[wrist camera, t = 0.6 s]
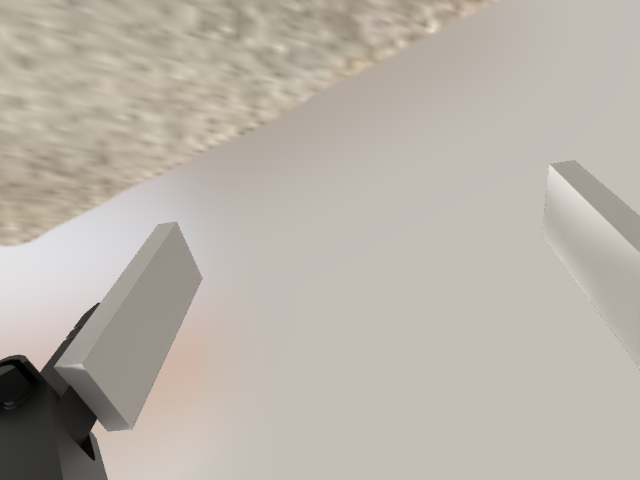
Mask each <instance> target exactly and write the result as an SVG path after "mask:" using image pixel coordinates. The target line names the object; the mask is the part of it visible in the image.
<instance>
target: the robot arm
mask: <svg viewBox="0 0 640 480" xmlns="http://www.w3.org/2000/svg"><path fill="white" fill-rule="evenodd" d="M542 235H543V237H544V238H545V240H546V241H547V242H548V244H549V245H550V246H551V248H552V249H553V251H554V252H555V253H556V255H557V256H558V257H559V259H560V260H561V261H562V263H563V264H564V266H565V267H566V269H567V270H568V271H569V273H570V274H571V276H572V277H573V278H574V280H575V281H576V282H577V284H578V285H579V286H580V288H581V289H582V291H583V292H584V293H585V295H586V296H587V297H588V299H589V300H590V302H591V303H592V304H593V306H594V307H595V308H596V310H597V311H598V313H599V314H600V316H601V317H602V318H603V320H604V321H605V323H606V324H607V325H608V326H609V328H610V329H611V331H612V332H613V333H614V335H615V336H616V338H617V339H618V340H619V342H620V343H621V345H622V346H623V347H624V349H625V350H626V352H627V353H628V354H629V356H630V357H631V358H632V360H633V361H634V363H635V364H636V365H637V367H638V368H639V369H640V216H639V215H638V214H637V213H636V212H635V211H633V210H632V209H631V208H630V207H628V205H626V204H625V203H624V202H623V201H622V200H620V199H619V198H618V197H617V196H616V195H615V194H613V193H612V192H611V191H610V190H609V189H608V188H606V187H605V186H604V185H603V184H602V183H601V182H599V181H598V180H597V179H596V178H595V177H594V176H592V175H591V174H590V173H589V172H587V170H585V169H584V168H583V167H582V166H581V165H580V164H578V163H577V162H576V161H575V160H573V161H566V162H560V163H554V164H549V172H548V180H547V190H546V200H545V208H544V217H543V227H542ZM201 281H202V276H201V274H200V272H199V269H198V267H197V265H196V263H195V261H194V258H193V256H192V254H191V252H190V250H189V247H188V245H187V243H186V241H185V239H184V237H183V234H182V232H181V230H180V228H179V226H178V223H177V222H171V223H165V224H159V225H158V226H157V227H156V228H155V229H154V231H153V232H152V233H151V235H150V236H149V238H148V239H147V240H146V242H145V243H144V244H143V246H142V247H141V248H140V250H139V251H138V252H137V254H136V255H135V257H134V258H133V259H132V261H131V262H130V264H129V265H128V266H127V268H126V269H125V270H124V272H123V273H122V274H121V276H120V277H119V278H118V280H117V281H116V283H115V284H114V285H113V287H112V288H111V289H110V291H109V292H108V293H107V295H106V296H105V298H104V299H103V300H102V302H101V303H97V304H96V305H95V306H93V307H92V308H91V309H90V310H89V311H87V312H86V313H85V314H84V315H83V316H82V318H81V319H80V320H79V322H78V323H77V324H76V326H75V327H74V330H72V331H71V332H70V333H69V335H68V336H67V337H66V340H65V341H63V343H62V344H61V345H60V347H59V348H58V349H57V351H56V352H55V353H54V355H53V356H52V357H51V359H50V360H49V361H48V363H47V364H46V365H45V366H44V368H43V369H42V371H41V372H39V371H38V370H37V369H36V368H35V367H34V366H33V364H32V363H31V362H30V361H29V360H28V359H27V358H26V357H25V356H23V355H14V356H9V357H7V358H4V359H2V360H0V480H108V479H107V475H106V472H105V468H104V464H103V461H102V457H101V454H100V450H99V446H98V443H97V439H96V438H95V436H94V434H93V433H92V432H91V429H92V427H93V425H94V424H95V422H96V420H97V419H98V421H99V422H100V423H101V424H102V425H103V426H104V428H105V429H106V430H107V431H120V430H132V429H133V427H134V425H135V423H136V420H137V419H138V416H139V414H140V412H141V410H142V408H143V405H144V404H145V401H146V399H147V397H148V395H149V393H150V391H151V388H152V386H153V384H154V382H155V379H156V378H157V375H158V373H159V371H160V369H161V367H162V364H163V363H164V360H165V358H166V356H167V354H168V352H169V349H170V347H171V345H172V343H173V341H174V339H175V337H176V334H177V332H178V330H179V328H180V326H181V324H182V322H183V319H184V317H185V315H186V313H187V310H188V309H189V306H190V304H191V302H192V300H193V298H194V296H195V293H196V291H197V289H198V287H199V285H200V283H201Z"/></svg>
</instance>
